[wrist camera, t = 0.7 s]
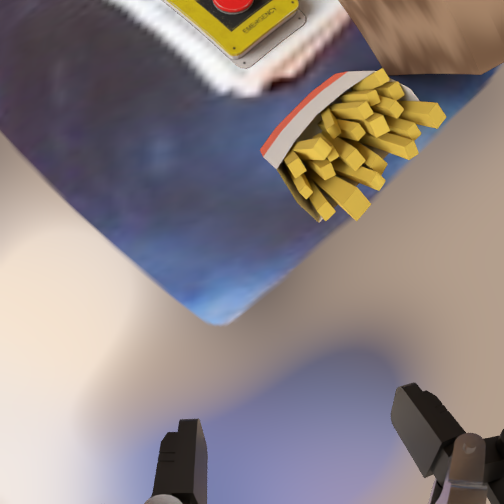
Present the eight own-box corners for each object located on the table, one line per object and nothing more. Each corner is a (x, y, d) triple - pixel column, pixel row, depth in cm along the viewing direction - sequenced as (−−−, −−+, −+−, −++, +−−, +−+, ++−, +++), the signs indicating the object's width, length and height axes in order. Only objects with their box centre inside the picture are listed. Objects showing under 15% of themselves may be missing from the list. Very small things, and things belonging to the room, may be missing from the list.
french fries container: (255, 143, 32) (274, 192, 17) (325, 72, 29) (410, 56, 13) (287, 171, 34) (332, 244, 18) (355, 103, 31) (455, 119, 15)
